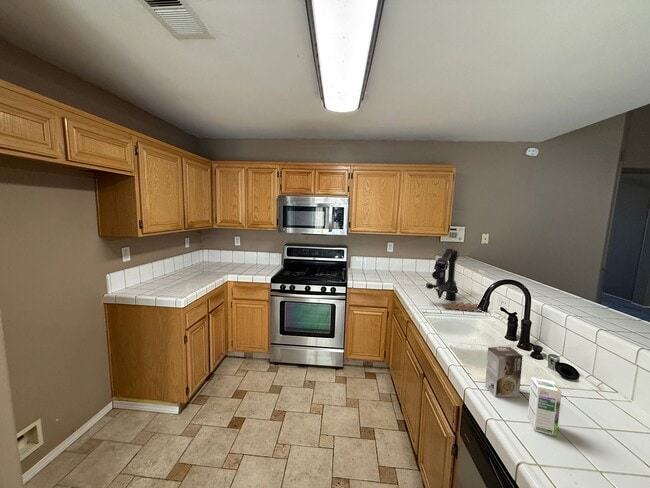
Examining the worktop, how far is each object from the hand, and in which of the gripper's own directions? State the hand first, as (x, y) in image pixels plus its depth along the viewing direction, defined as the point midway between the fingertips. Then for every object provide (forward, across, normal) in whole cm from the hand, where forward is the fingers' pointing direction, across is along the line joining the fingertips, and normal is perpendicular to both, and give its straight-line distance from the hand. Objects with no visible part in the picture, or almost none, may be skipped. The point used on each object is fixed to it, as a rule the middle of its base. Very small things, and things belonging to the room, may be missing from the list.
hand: (439, 298), depth 189 cm
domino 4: (+6, +18, 0) cm, 19 cm away
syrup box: (+8, +8, -109) cm, 110 cm away
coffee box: (+8, +3, -93) cm, 94 cm away
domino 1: (+6, +3, 0) cm, 7 cm away
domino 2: (+6, +8, 0) cm, 10 cm away
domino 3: (+6, +13, 0) cm, 15 cm away
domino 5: (+6, +23, 0) cm, 23 cm away
